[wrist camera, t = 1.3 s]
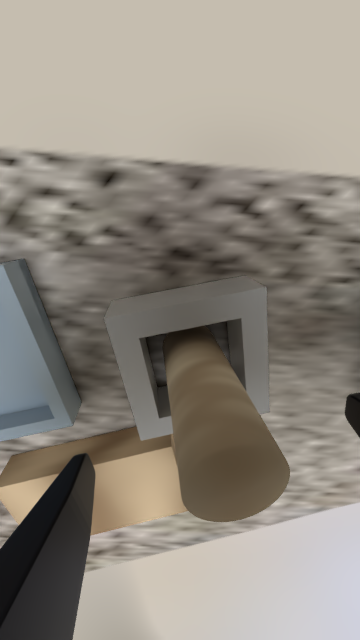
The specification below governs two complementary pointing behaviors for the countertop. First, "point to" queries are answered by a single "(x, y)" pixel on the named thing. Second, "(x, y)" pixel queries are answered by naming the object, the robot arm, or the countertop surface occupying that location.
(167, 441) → the board
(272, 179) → the countertop surface
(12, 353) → the tray
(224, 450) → the dowel
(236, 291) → the socket block
